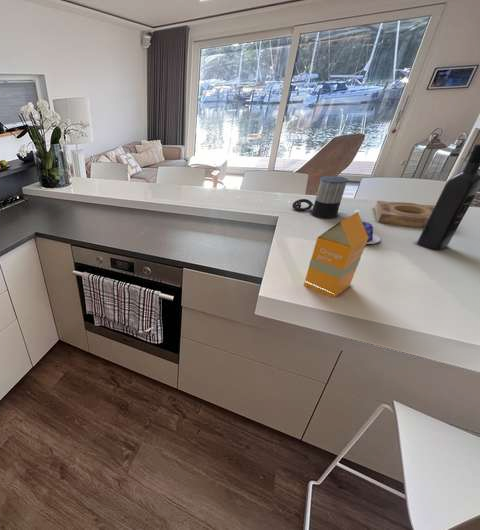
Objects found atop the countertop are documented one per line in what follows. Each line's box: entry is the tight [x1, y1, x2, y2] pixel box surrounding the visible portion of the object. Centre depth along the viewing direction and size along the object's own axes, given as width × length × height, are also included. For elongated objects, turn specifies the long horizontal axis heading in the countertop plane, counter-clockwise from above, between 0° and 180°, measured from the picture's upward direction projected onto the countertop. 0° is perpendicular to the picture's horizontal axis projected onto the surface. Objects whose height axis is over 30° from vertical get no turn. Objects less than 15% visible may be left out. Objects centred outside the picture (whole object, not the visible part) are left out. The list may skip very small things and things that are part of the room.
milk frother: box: [292, 175, 349, 219], centre depth 118 cm, size 14×16×15 cm
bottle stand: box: [374, 200, 436, 228], centre depth 109 cm, size 18×17×4 cm
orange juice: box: [303, 212, 368, 299], centre depth 73 cm, size 8×9×20 cm
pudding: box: [362, 221, 381, 245], centre depth 98 cm, size 12×12×5 cm
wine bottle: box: [416, 143, 480, 251], centre depth 84 cm, size 6×6×30 cm
